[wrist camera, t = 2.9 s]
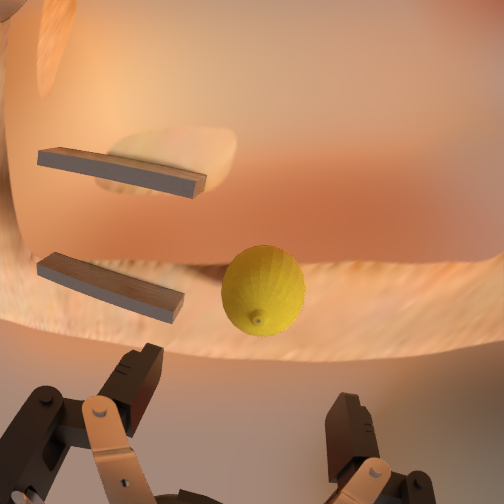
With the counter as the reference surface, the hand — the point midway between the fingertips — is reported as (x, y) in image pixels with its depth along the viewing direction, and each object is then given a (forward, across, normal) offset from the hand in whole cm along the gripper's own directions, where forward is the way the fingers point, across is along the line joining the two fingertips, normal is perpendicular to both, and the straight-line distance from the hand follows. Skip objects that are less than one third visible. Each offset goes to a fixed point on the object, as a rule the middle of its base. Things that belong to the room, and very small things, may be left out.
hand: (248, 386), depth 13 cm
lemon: (+13, 0, 0) cm, 13 cm away
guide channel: (+13, +13, 0) cm, 18 cm away
